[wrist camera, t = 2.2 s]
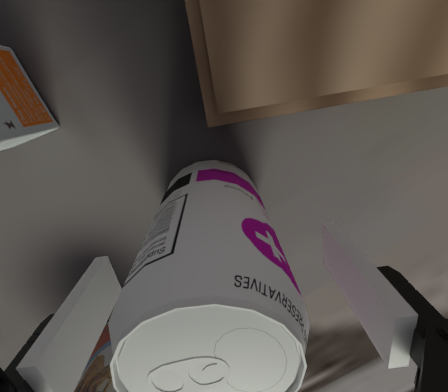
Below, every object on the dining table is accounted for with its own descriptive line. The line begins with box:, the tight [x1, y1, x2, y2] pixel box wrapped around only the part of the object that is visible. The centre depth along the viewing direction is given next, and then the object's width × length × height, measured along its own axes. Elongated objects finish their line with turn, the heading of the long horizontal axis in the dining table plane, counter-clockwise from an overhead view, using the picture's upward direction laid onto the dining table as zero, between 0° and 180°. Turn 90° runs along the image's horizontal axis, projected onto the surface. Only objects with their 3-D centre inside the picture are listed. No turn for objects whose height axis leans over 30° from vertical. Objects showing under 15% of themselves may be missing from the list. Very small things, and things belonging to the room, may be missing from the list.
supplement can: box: [108, 160, 310, 392], centre depth 16 cm, size 8×8×15 cm
